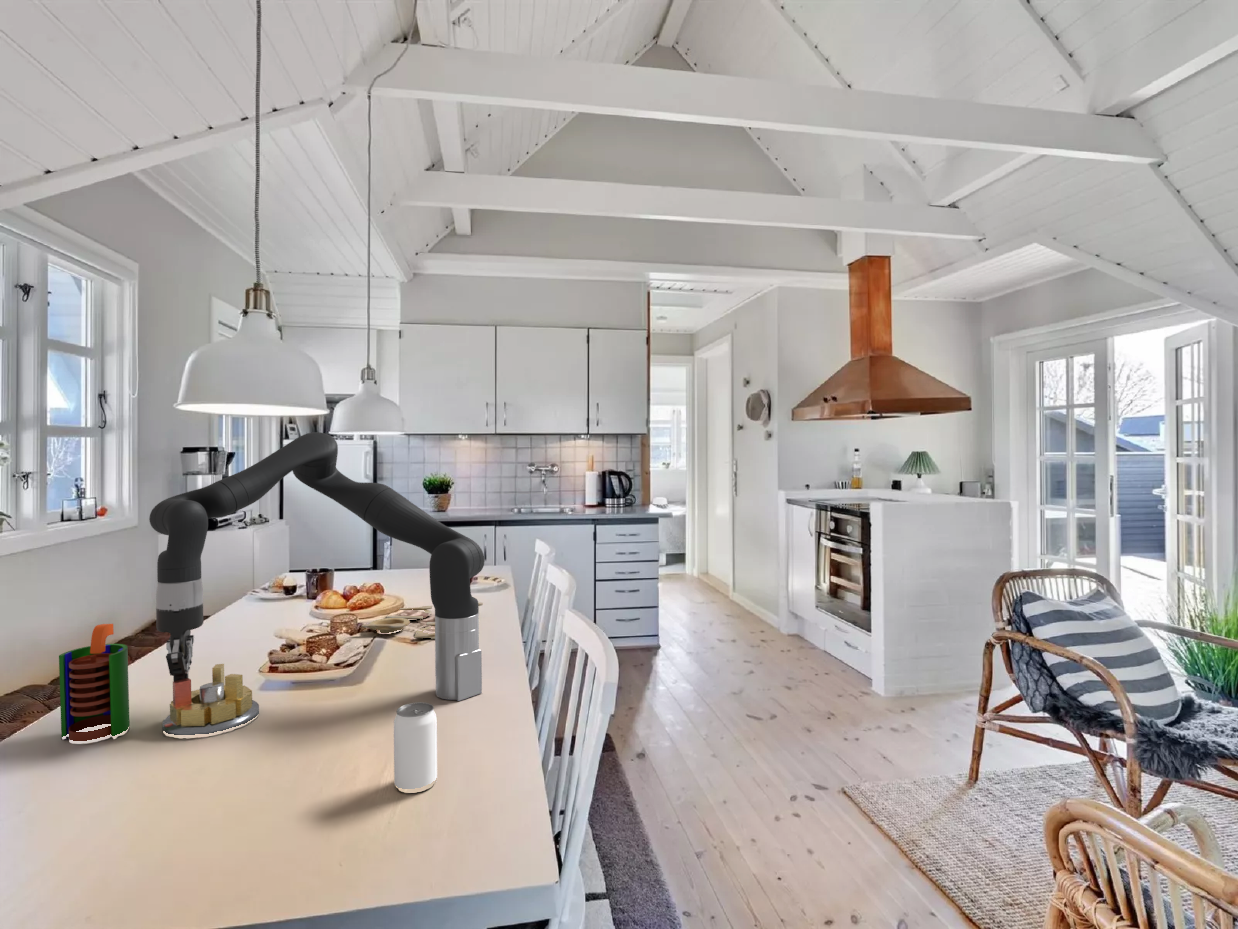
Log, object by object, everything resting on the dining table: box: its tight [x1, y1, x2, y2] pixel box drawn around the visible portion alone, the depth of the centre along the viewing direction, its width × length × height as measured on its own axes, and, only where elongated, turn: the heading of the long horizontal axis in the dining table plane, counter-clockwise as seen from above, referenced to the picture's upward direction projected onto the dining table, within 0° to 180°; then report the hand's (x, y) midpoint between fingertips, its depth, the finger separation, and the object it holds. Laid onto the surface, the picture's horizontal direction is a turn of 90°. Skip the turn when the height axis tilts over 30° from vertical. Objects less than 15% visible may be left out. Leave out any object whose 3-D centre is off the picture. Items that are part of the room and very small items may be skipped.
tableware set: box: [361, 602, 484, 640], centre depth 200 cm, size 35×29×4 cm
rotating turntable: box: [162, 681, 260, 735], centre depth 129 cm, size 16×16×7 cm
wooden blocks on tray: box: [169, 663, 253, 726], centre depth 129 cm, size 13×13×8 cm
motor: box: [58, 623, 131, 741], centre depth 123 cm, size 10×9×20 cm
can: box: [393, 701, 438, 789], centre depth 104 cm, size 6×6×12 cm
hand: (181, 692), depth 127 cm, fingers closed
